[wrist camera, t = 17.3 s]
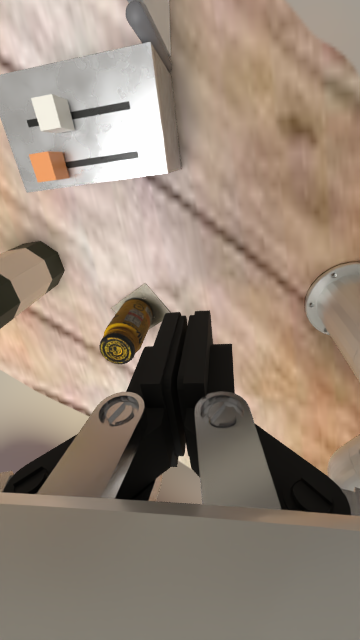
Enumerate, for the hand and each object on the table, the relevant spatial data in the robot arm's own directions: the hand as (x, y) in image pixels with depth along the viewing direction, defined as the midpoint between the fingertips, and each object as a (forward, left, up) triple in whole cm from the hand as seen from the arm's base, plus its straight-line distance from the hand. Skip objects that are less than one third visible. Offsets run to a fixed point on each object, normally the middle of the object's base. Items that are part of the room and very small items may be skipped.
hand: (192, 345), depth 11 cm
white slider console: (+12, -11, -35) cm, 39 cm away
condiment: (+14, +16, -35) cm, 41 cm away
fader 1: (+14, -12, -23) cm, 29 cm away
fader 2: (+15, -7, -23) cm, 29 cm away
